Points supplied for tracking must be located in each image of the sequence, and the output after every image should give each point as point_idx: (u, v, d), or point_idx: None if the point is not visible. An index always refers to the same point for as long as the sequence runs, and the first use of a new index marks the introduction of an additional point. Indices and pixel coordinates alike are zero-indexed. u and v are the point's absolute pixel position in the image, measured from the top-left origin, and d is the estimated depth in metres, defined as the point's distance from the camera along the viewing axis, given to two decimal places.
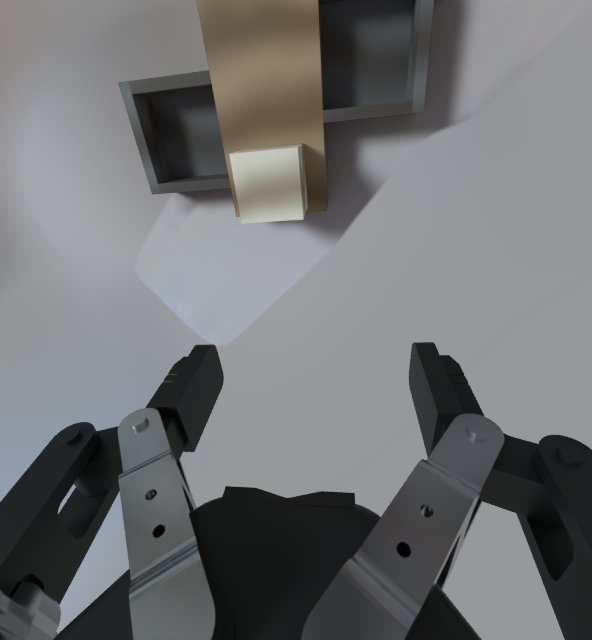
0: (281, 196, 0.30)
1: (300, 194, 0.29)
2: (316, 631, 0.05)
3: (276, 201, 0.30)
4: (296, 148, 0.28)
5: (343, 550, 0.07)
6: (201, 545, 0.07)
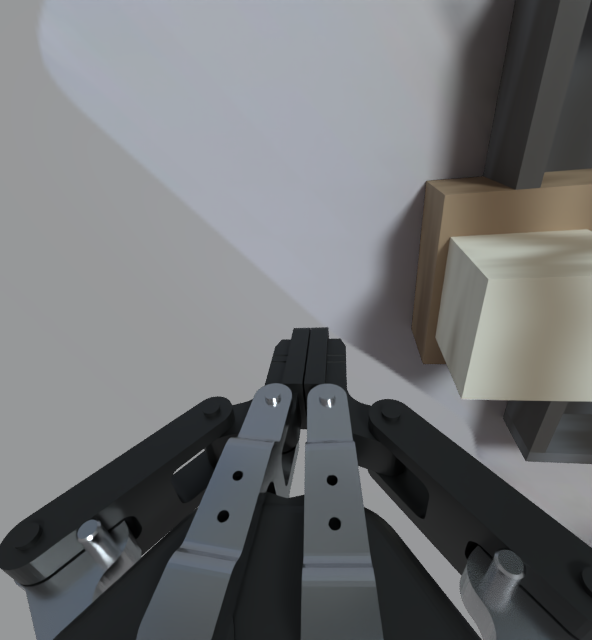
0: (523, 369, 0.14)
1: (515, 398, 0.15)
2: (316, 631, 0.05)
3: (515, 359, 0.14)
4: None
5: None
6: (250, 556, 0.07)
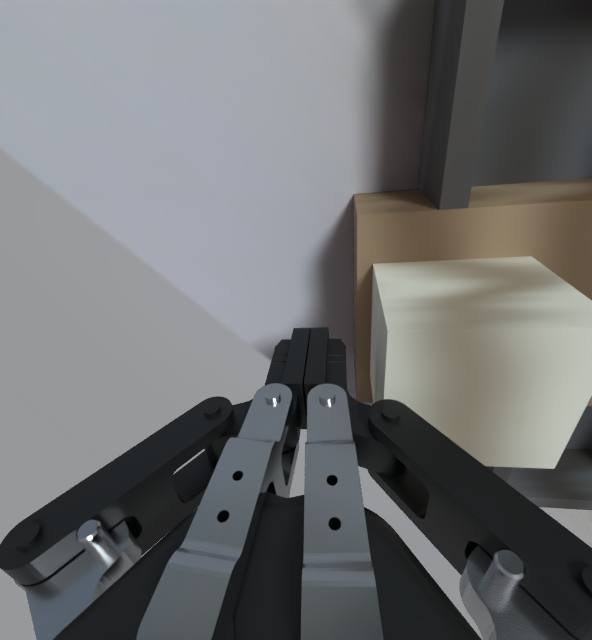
0: (447, 431, 0.11)
1: None
2: (316, 631, 0.05)
3: (435, 421, 0.11)
4: (552, 466, 0.12)
5: None
6: (250, 557, 0.07)
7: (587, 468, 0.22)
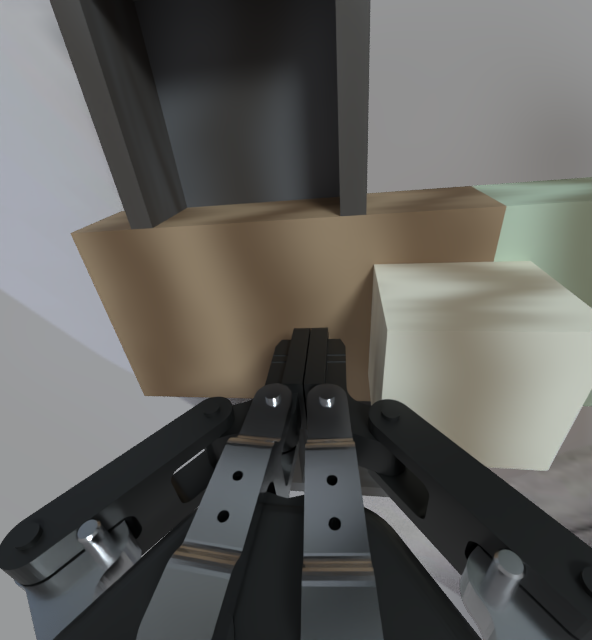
0: (442, 431, 0.11)
1: None
2: (316, 631, 0.05)
3: (432, 421, 0.11)
4: (546, 468, 0.12)
5: None
6: (250, 557, 0.07)
7: None
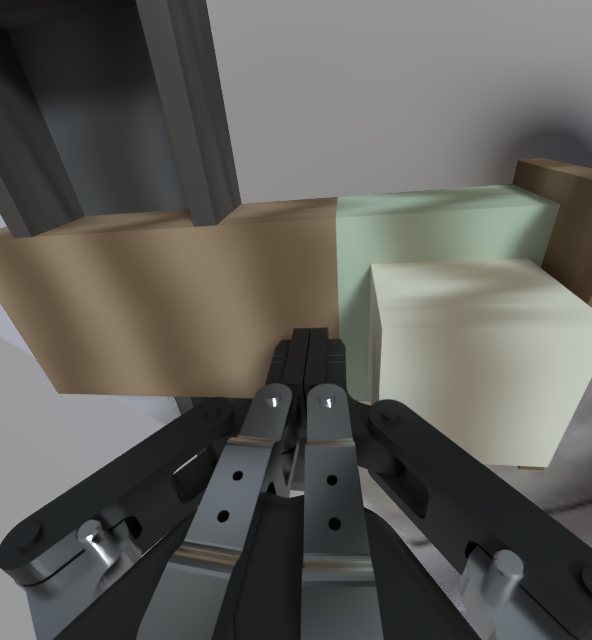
0: (441, 429, 0.11)
1: None
2: (316, 631, 0.05)
3: (430, 418, 0.11)
4: (546, 464, 0.12)
5: None
6: (250, 557, 0.07)
7: None
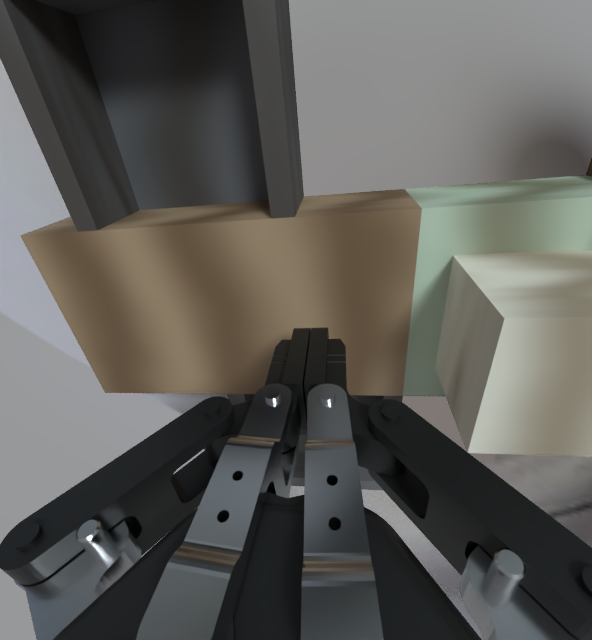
0: (543, 421, 0.11)
1: (531, 452, 0.12)
2: (316, 631, 0.05)
3: (535, 410, 0.11)
4: None
5: None
6: (250, 557, 0.07)
7: None
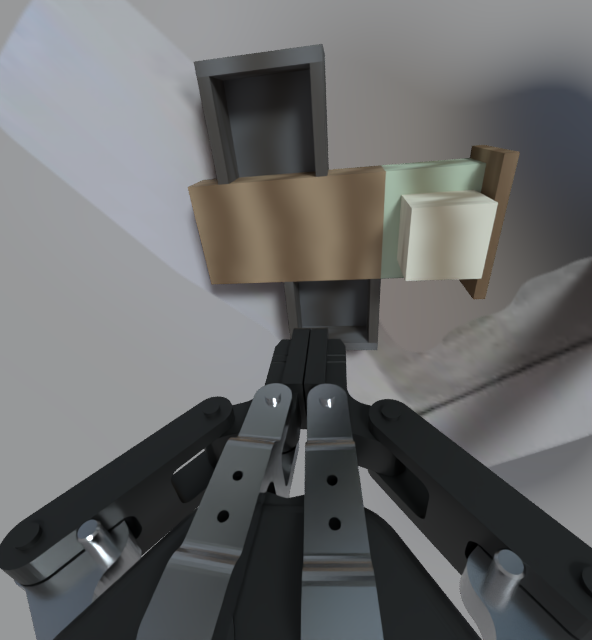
0: (435, 259, 0.26)
1: (433, 279, 0.27)
2: (316, 631, 0.05)
3: (430, 254, 0.26)
4: (480, 277, 0.27)
5: None
6: (250, 557, 0.07)
7: (351, 332, 0.40)
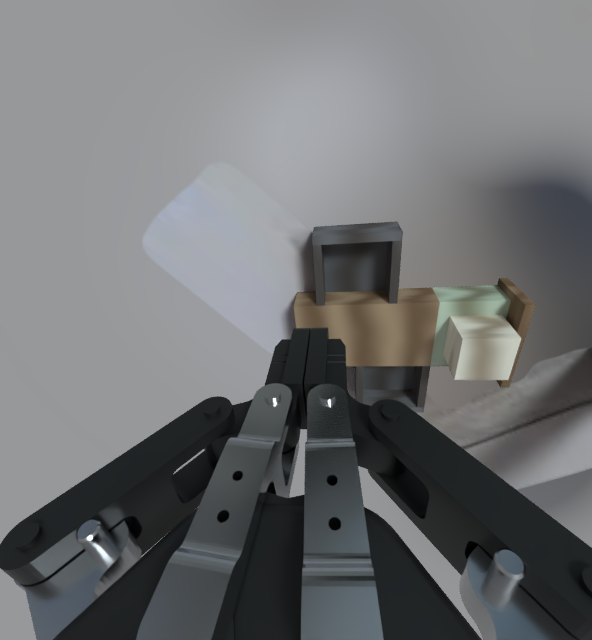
0: (476, 368, 0.38)
1: (474, 379, 0.39)
2: (316, 631, 0.05)
3: (473, 365, 0.38)
4: (507, 379, 0.39)
5: None
6: (250, 557, 0.07)
7: (401, 396, 0.51)
